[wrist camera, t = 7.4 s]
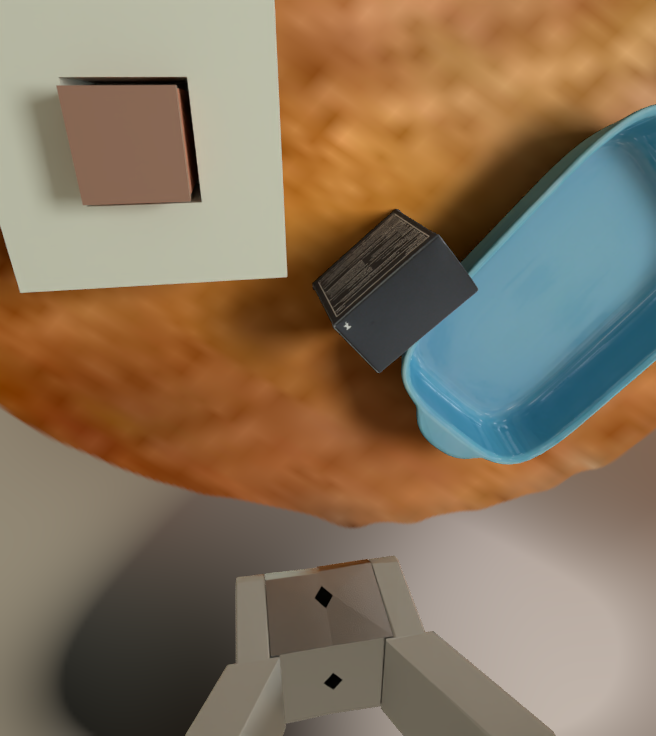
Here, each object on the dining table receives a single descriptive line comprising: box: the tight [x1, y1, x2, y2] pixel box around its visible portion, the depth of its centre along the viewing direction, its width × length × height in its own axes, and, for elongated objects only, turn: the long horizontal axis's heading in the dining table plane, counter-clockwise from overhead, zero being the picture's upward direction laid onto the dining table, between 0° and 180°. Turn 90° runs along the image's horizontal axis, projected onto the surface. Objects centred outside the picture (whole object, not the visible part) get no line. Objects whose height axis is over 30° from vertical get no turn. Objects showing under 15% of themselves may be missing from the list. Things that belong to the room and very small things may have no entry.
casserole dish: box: [401, 104, 656, 464], centre depth 49 cm, size 37×22×7 cm, turn 137°
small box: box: [313, 209, 478, 373], centre depth 44 cm, size 11×6×10 cm, turn 130°
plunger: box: [56, 85, 199, 205], centre depth 34 cm, size 6×6×12 cm
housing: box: [0, 0, 287, 293], centre depth 36 cm, size 19×19×10 cm
